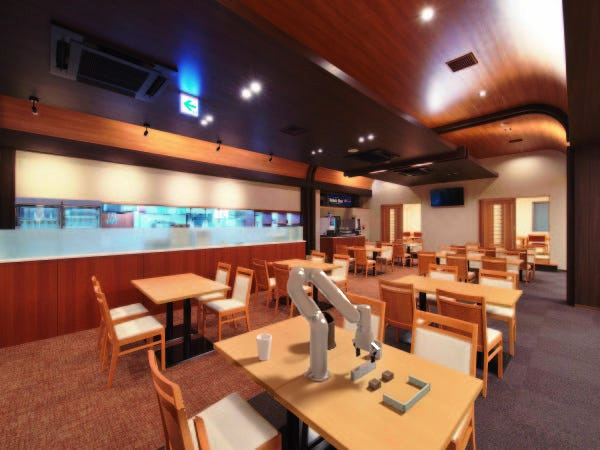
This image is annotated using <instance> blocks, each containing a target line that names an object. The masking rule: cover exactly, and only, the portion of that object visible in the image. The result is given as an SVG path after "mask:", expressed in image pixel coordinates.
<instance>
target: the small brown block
mask: <svg viewBox="0 0 600 450" xmlns="http://www.w3.org/2000/svg"><path fill="white" fill-rule="evenodd" d="M381 379H382V380H384V381H386V382H390V381H392V380H393V379H395V373H394V372H392V371H390V370H388V369H387V370H385V371H383V372H381Z"/></svg>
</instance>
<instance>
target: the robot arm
mask: <svg viewBox="0 0 600 450" xmlns="http://www.w3.org/2000/svg"><path fill="white" fill-rule="evenodd" d="M305 282H306V283H312V284H313V285H314V286H315V288H316V289H317V290H318V291H319V292H320V293H321V294H322V296H324V297H325V298H326V299H327V301H328V302H329V303H330V304H331V305H332V306H333V307H335V309H336V310H337V311H338V312H339V313H340V315H342V316H343V317H344V318H345V320H346V321H347V322H348V323H350V324H356V327H357V328H356V329H355V333H354V334H355V336H354V338H351V342H352V345H353V347H354V349H355V357H356V358H358V357H361V350H362V351H364V352H367V353H369V352H370V353H371V356H370V360H371V363H374V362H375V360H376V358H375V355H376V354H377V353H378V351H379V348H378V347H377V346H376V345H375V344H374V340H375V336H374V332H373V330H372V329H373V328H372V327H373V326H372V308H371V306H370V305H369V304H365V303H364V304H363V303H362V304H352V303H351V302H350V300H349V299H348V298H347V297H346V295H345V294H344V293H343V292H342V291H341V289H340V288H339V287H338V286H337V284H335V282H333V280H332V279H330V277H329V276H328V275H327V273H325V272H324V270H322V269H321V268H320V267H310V266H309V267H308V266H293V267H292V268H291V269H290V270H289V277H288V280H287V283H286V292H287V294H288V296H289V298H290V299H291V301H292V302H293V304H294V306H295V307H296V308H297V310H298V312H299V313H300V315H301V316H302V317H303V318H305V320H306V321H307V322H308V325H309V329H310V331H309V367H307V370H306V371H305V372H303V373H302V375H303V377H304V378H306V377H307V378H308V379H310V380H311V381H314V382H324V381H327V380H329V379H330V377H331V372H330V370H328V351H327V339H328V324H327V321H326V319H325V317H324V315H323V314H322V312H321V309H320V308H319V306H318V304H317V303H316V301H314V299H313V297H310V296H309V295H308V293H307V292H306V290H305V288H304V286H303V285H304V284H305ZM374 348H375V350H374ZM372 351H373V352H372Z"/></svg>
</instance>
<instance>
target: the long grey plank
mask: <svg viewBox="0 0 600 450" xmlns="http://www.w3.org/2000/svg"><path fill="white" fill-rule="evenodd" d="M374 370H377V359H375V362H374V363H371V359H369V360H367V361H364V363H362V364H359V365H358V366H356V367H354V368H352V369H350V377H349V378H350V380H351V381H353V382H356V381H357V380H359V379H361V378H363V377H364V376H366V375H367V374H369V373H371V372H373V371H374Z"/></svg>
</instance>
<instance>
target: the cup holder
mask: <svg viewBox="0 0 600 450" xmlns="http://www.w3.org/2000/svg"><path fill="white" fill-rule="evenodd" d="M320 311H321V310H320ZM321 312H322V314H323V315H324V317H325V319H326V321H327V324H328V339H327V350H329V351H332V350H331V349H333V350H335V349H336V348H337V346H336V345H337V343H336V340H335V339H336V333H335V332H336V328H335V327H336V326H335V325H336V321H335V320H336V319H335V317H334V316H333V315H332V313H330V312H328V311H325V310H322V311H321ZM335 347H336V348H335ZM334 348H335V349H334Z"/></svg>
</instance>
